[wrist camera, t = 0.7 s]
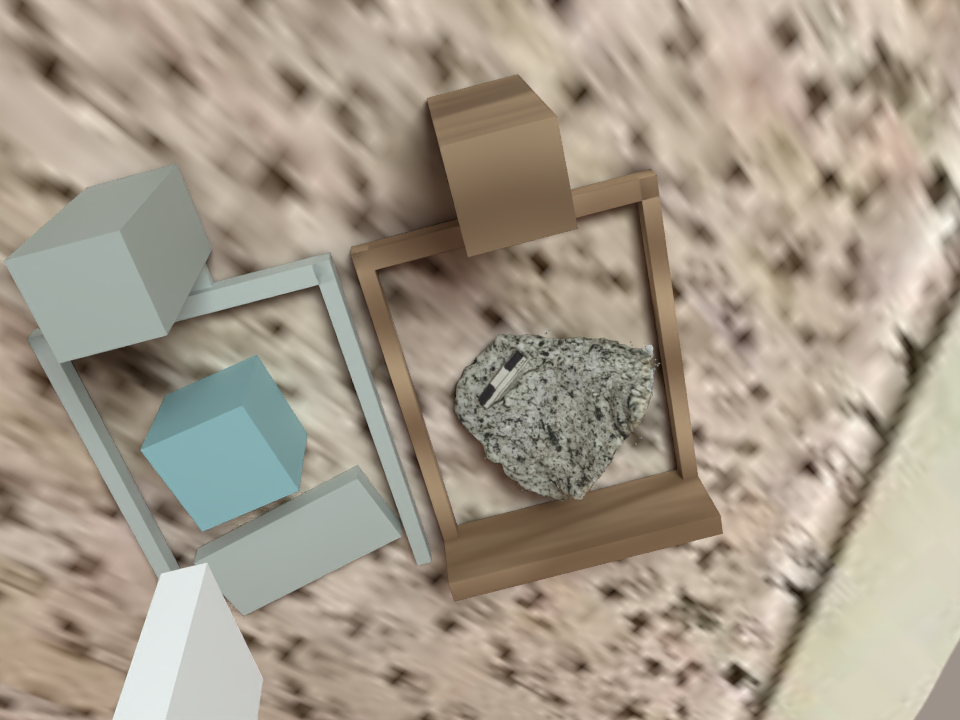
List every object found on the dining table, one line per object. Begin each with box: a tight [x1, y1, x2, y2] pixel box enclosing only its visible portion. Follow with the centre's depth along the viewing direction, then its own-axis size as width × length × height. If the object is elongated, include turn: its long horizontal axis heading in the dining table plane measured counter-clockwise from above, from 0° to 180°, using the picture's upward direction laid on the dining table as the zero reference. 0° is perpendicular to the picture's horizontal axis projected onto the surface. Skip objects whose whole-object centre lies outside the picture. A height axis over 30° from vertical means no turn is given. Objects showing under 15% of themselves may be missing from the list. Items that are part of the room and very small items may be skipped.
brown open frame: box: [351, 74, 723, 602], centre depth 37 cm, size 24×14×9 cm, turn 13°
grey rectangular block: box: [194, 465, 401, 616], centre depth 45 cm, size 4×10×1 cm, turn 118°
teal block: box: [140, 355, 307, 532], centre depth 40 cm, size 5×5×5 cm
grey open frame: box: [4, 164, 432, 579], centre depth 38 cm, size 24×14×9 cm, turn 13°
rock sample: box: [454, 330, 660, 502], centre depth 42 cm, size 10×8×9 cm
